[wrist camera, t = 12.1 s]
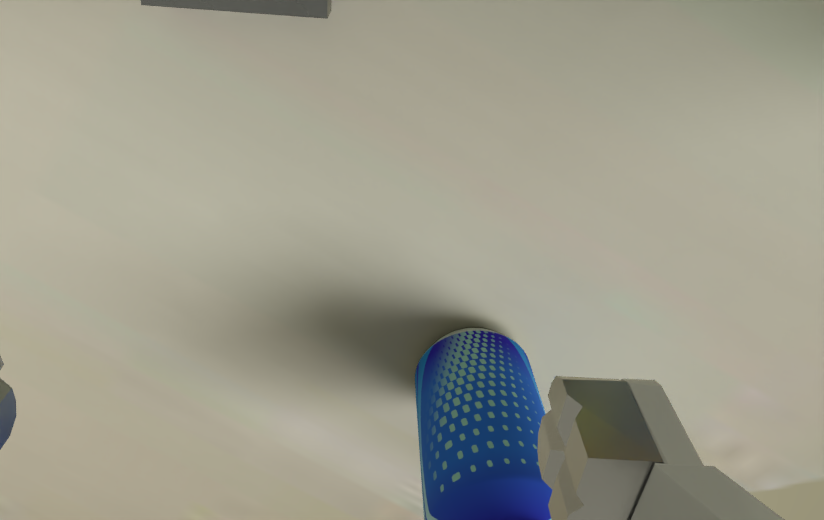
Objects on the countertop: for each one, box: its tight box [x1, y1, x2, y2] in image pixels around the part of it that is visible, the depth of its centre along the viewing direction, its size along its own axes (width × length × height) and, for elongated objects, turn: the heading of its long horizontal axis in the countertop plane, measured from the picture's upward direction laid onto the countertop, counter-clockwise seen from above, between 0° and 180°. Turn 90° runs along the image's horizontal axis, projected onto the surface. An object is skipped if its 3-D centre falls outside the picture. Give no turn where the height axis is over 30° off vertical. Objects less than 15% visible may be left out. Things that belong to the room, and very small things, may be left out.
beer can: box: [415, 328, 552, 520], centre depth 38 cm, size 8×8×16 cm
